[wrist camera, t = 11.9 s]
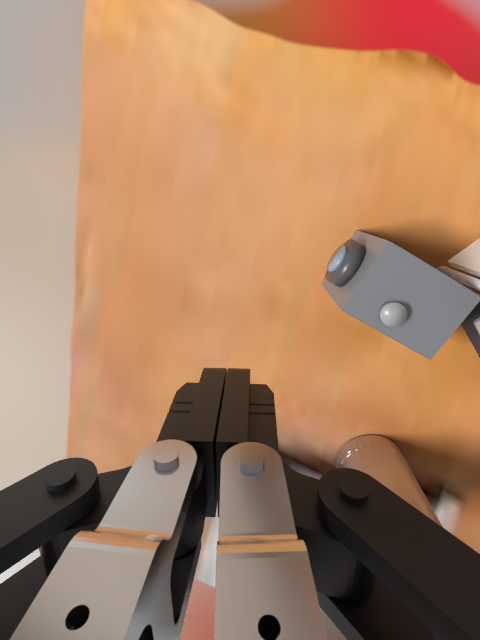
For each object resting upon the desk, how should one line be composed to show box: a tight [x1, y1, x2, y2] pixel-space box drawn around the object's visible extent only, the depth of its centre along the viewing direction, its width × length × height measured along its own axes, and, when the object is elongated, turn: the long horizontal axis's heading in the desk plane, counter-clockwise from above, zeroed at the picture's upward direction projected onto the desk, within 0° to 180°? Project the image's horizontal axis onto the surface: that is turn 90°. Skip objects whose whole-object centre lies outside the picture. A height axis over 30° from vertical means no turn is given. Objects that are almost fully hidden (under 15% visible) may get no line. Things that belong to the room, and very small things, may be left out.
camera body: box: [322, 230, 480, 360], centre depth 35 cm, size 13×8×11 cm
